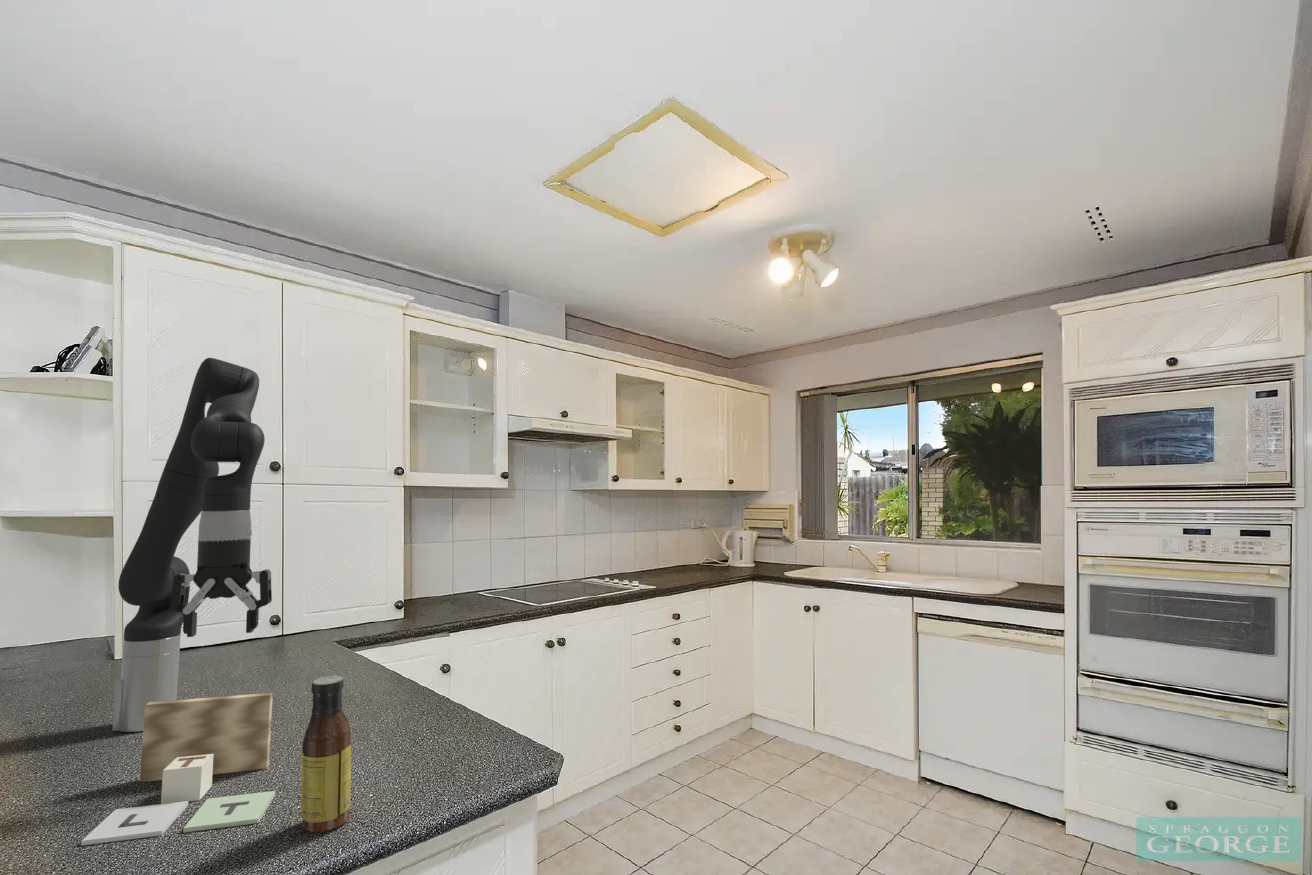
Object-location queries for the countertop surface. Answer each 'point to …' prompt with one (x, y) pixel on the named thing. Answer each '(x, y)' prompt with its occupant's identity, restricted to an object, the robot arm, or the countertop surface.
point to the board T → (230, 811)
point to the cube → (187, 778)
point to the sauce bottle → (326, 760)
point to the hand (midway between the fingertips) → (221, 634)
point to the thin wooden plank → (207, 733)
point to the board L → (135, 823)
